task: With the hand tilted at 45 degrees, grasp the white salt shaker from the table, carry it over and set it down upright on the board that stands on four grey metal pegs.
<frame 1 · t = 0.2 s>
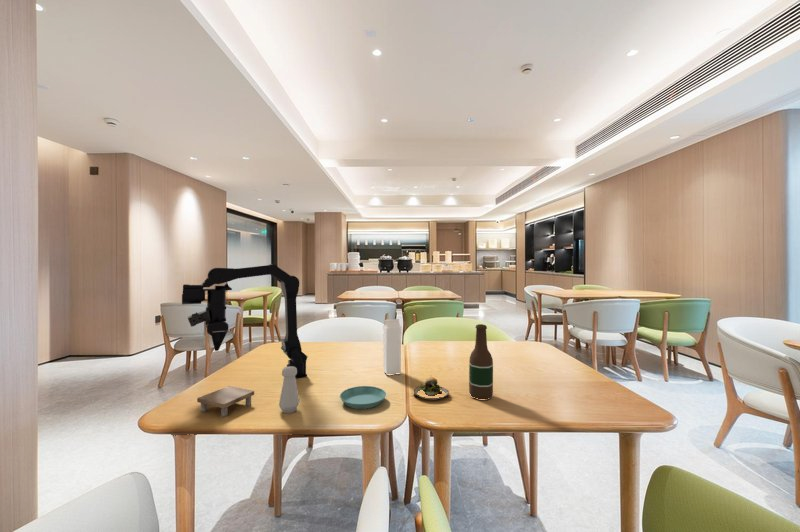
hand: (215, 347, 117), 15 cm above the table, tool pointing down, fingers open, 9 cm apart
salt shaker: (289, 411, 100), on the table
plate of food: (431, 396, 113), on the table
beer bottle: (480, 396, 112), on the table
saucer: (363, 403, 107), on the table
peg shelf: (226, 407, 102), on the table
milk: (391, 373, 136), on the table
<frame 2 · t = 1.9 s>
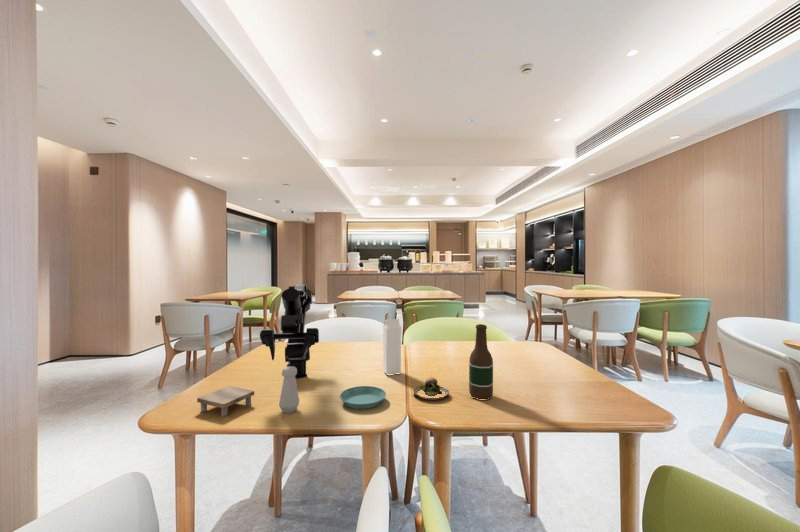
hand: (287, 359, 108), 13 cm above the table, tool tilted 45°, fingers open, 9 cm apart
nothing on the table moved.
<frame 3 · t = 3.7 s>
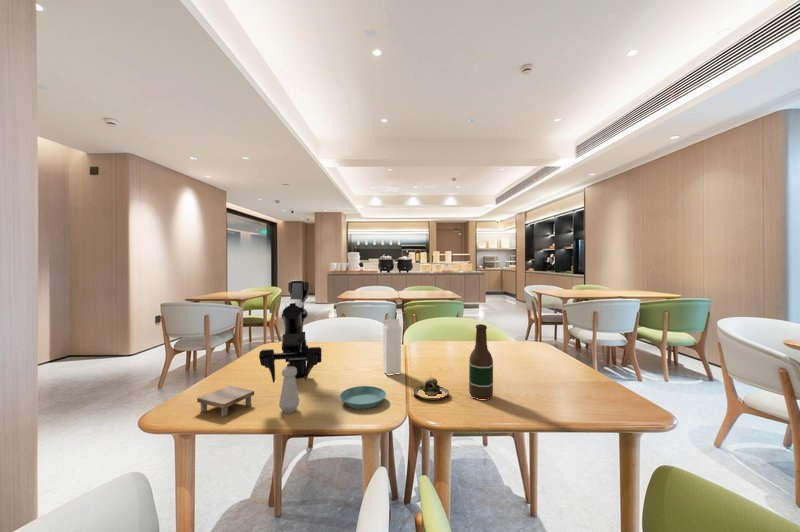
hand: (289, 381, 101), 9 cm above the table, tool tilted 45°, fingers open, 9 cm apart
nothing on the table moved.
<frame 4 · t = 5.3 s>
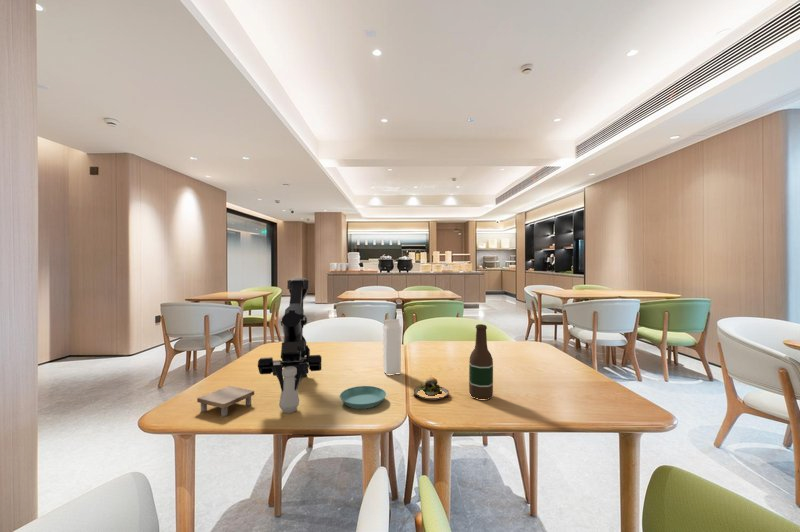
hand: (288, 390, 99), 7 cm above the table, tool tilted 45°, fingers closed on salt shaker, 3 cm apart
salt shaker: (289, 411, 100), on the table, touching gripper
everything else where it was.
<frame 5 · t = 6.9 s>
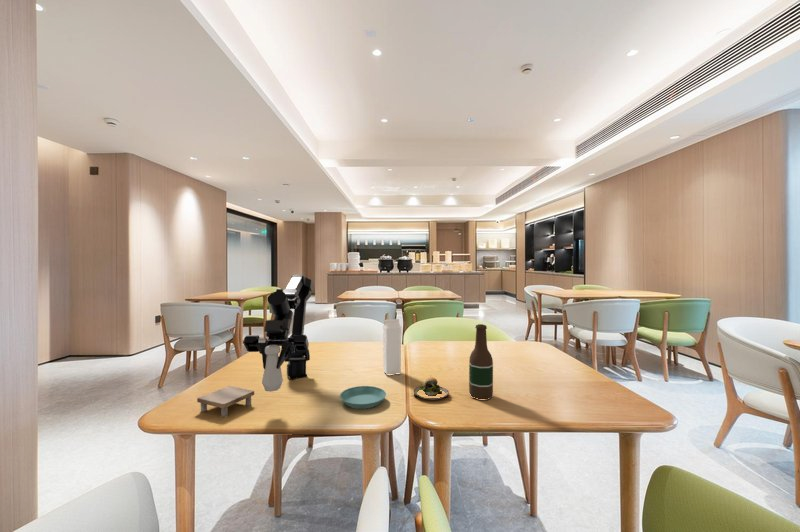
hand: (270, 368, 98), 13 cm above the table, tool tilted 45°, fingers closed on salt shaker, 3 cm apart
salt shaker: (272, 389, 100), point 6 cm above the table, touching gripper
everything else where it was.
when the fingers open (12 cm above the table, at t = 8.5 s): salt shaker drops 1 cm, resting on peg shelf.
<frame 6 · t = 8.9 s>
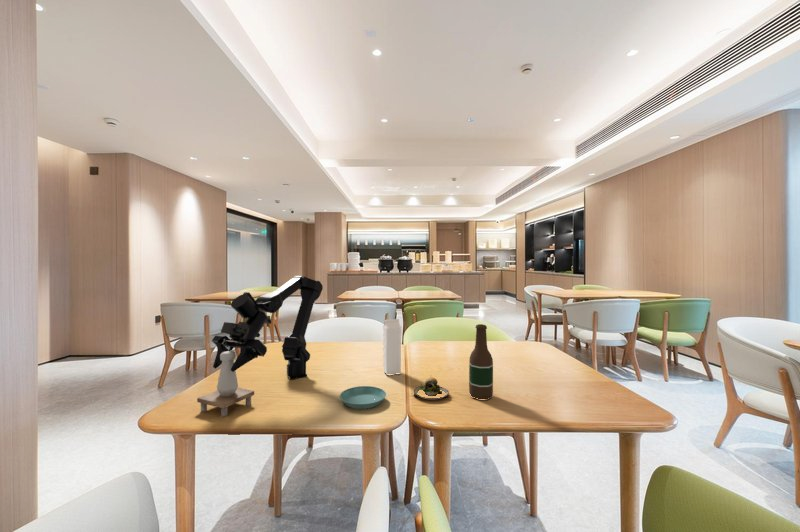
hand: (222, 369, 101), 12 cm above the table, tool tilted 45°, fingers open, 7 cm apart
salt shaker: (227, 394, 102), point 4 cm above the table, touching peg shelf
everything else where it was.
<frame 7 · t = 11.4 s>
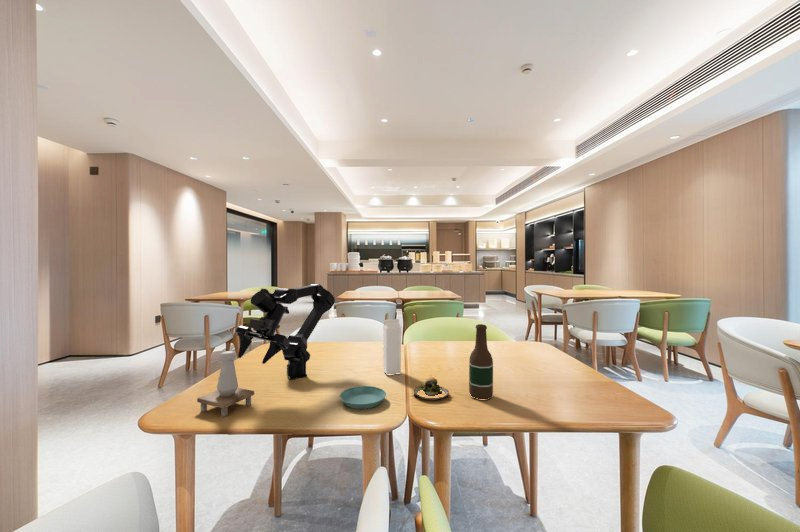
hand: (251, 360, 112), 12 cm above the table, tool tilted 35°, fingers open, 9 cm apart
nothing on the table moved.
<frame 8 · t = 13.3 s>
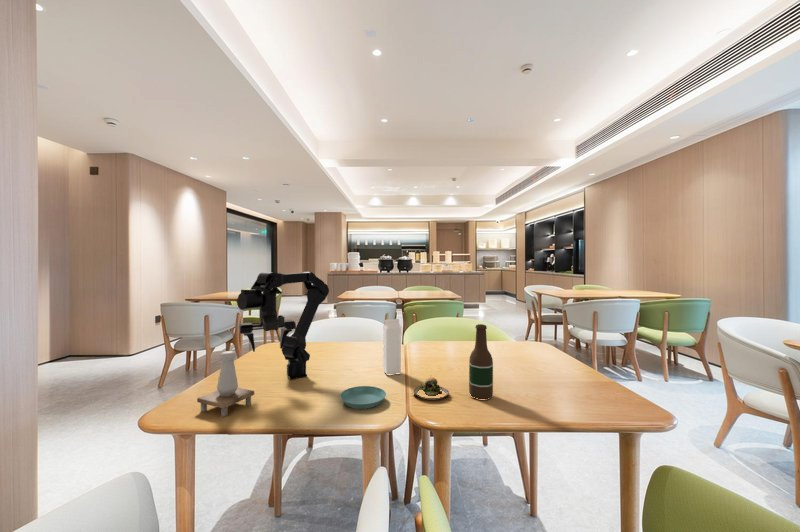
hand: (267, 350, 121), 13 cm above the table, tool pointing down, fingers open, 9 cm apart
nothing on the table moved.
at the end: salt shaker inside the target area on the peg shelf (0.3 cm from its centre), point 3.8 cm above the peg shelf's base; salt shaker tilted 0°; the gripper is holding nothing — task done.
